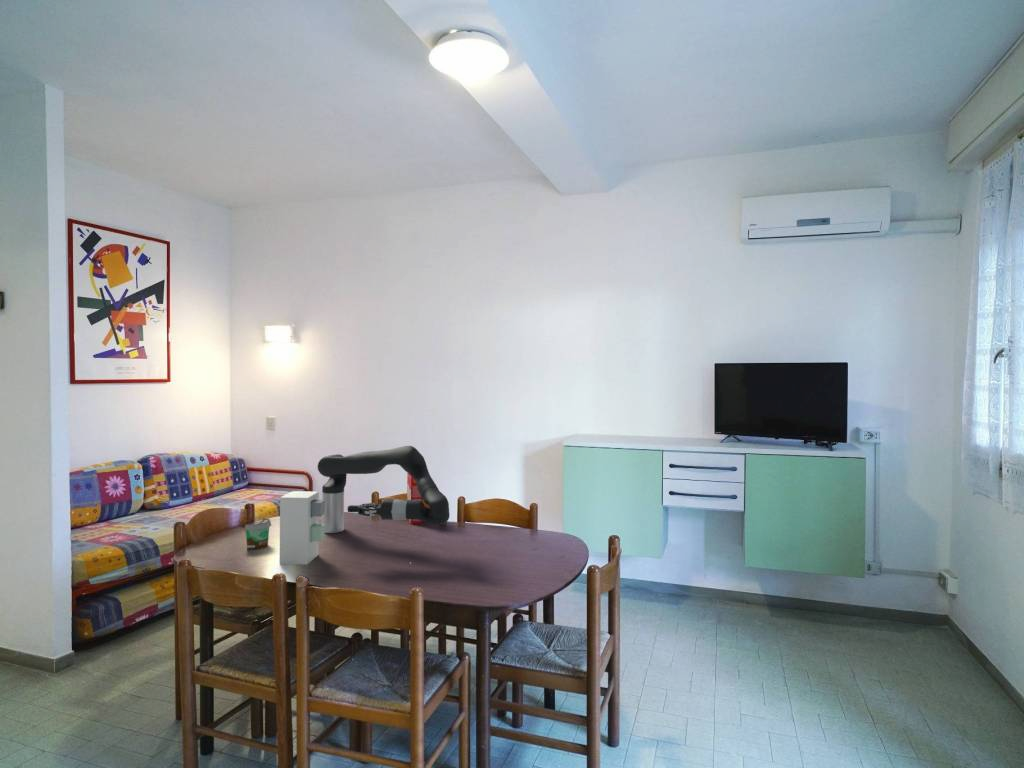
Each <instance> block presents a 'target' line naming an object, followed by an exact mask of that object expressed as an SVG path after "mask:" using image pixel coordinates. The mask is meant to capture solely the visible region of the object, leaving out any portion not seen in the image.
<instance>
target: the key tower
mask: <svg viewBox="0 0 1024 768" xmlns="http://www.w3.org/2000/svg"><path fill="white" fill-rule="evenodd" d="M319 493H320V492H319V491H309V490H308V491H301V490H300V491H297V490H296V491H295V490H293V491H290V492H288V493H286V494H284V495H282V496H280V498H279V565H308V564H310V563H311V562H312V561H313V560H314V559H315V558H317V557H318V555H319V541H310V526H312V525H313V524H319V517H314V516H311V501H313V500H320V496H319V495H320V494H319Z"/></svg>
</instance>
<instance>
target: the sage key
mask: <svg viewBox="0 0 1024 768" xmlns="http://www.w3.org/2000/svg"><path fill="white" fill-rule="evenodd" d="M325 536H326V533H325V524H322V523H321V524H320V523H318V524H313V525H312V526H310V541H318V542H321V541H322V540H324V539H325Z"/></svg>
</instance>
